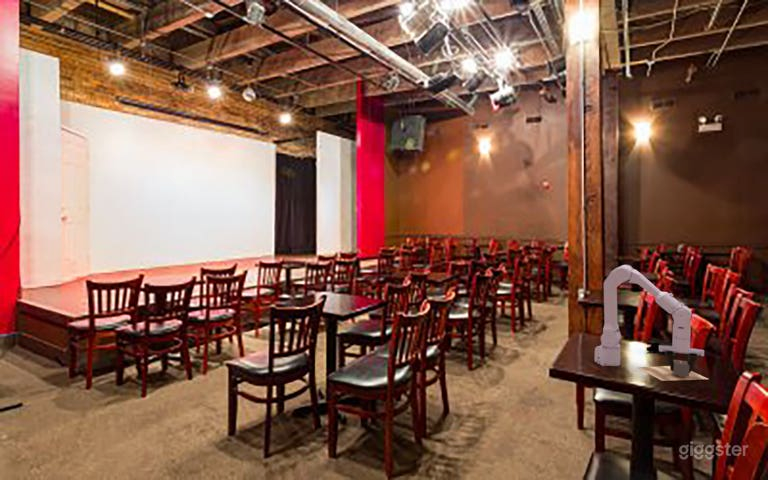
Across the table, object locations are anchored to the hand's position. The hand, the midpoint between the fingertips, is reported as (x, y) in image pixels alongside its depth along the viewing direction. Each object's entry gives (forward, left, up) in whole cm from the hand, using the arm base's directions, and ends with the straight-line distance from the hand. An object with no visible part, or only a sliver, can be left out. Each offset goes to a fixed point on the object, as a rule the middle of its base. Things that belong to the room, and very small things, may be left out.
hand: (680, 371), depth 170 cm
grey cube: (0, 0, -1) cm, 1 cm away
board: (-1, +3, -3) cm, 5 cm away
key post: (0, 0, -2) cm, 2 cm away
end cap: (+14, +29, -4) cm, 32 cm away
